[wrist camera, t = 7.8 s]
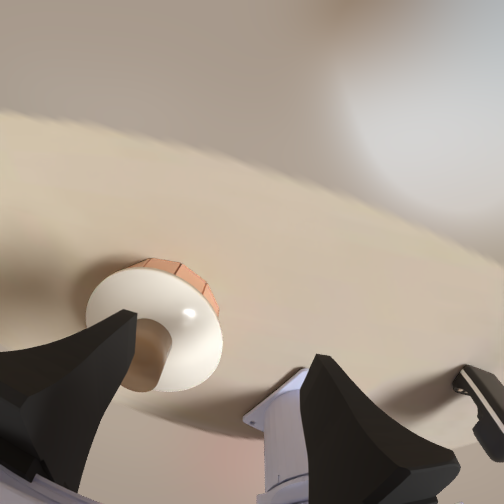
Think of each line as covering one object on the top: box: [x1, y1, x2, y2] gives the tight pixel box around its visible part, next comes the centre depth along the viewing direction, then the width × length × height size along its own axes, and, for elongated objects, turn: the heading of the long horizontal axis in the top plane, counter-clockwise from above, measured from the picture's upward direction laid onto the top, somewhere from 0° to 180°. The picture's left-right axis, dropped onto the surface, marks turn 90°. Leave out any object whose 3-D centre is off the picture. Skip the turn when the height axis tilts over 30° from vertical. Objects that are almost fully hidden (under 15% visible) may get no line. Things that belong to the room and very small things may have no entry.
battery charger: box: [452, 365, 504, 462], centre depth 19 cm, size 7×4×11 cm, turn 65°
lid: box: [86, 267, 223, 392], centre depth 17 cm, size 9×9×4 cm
